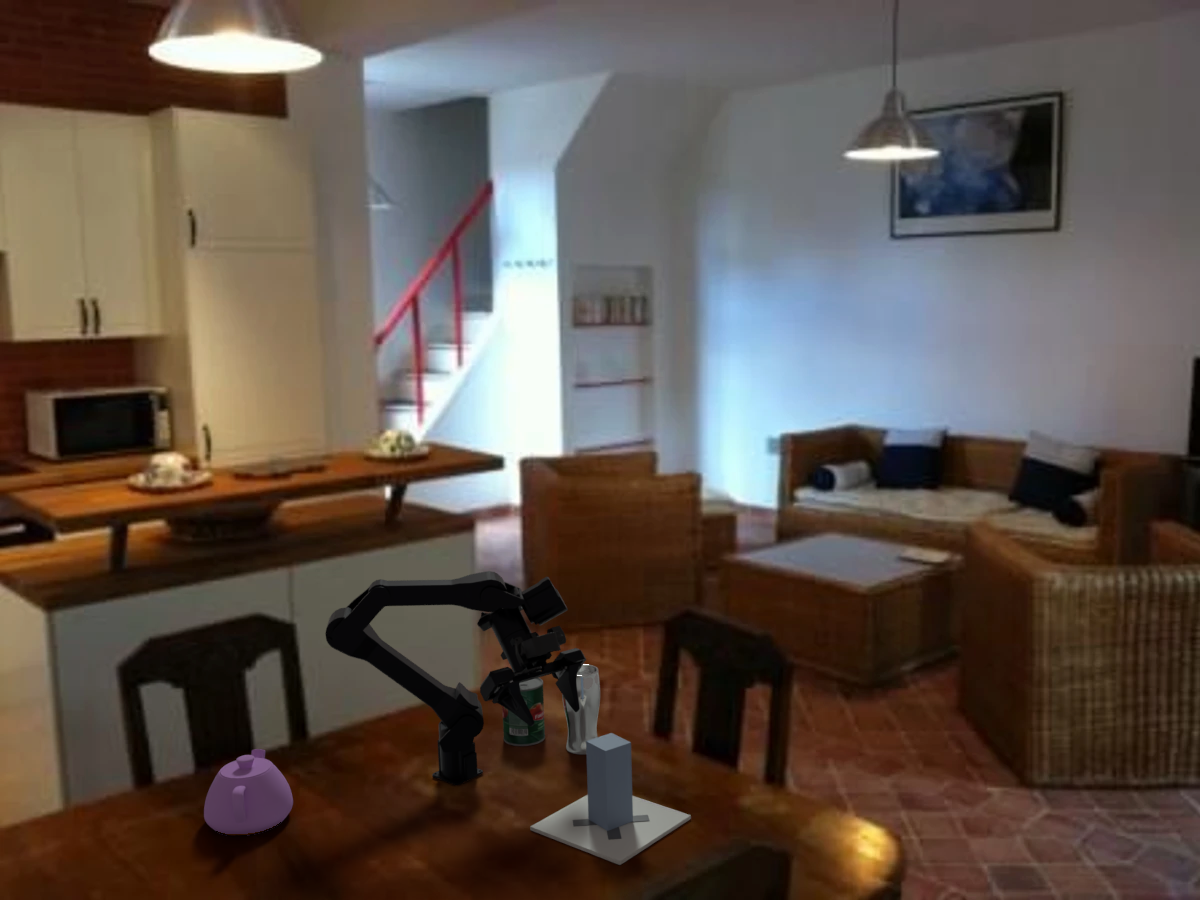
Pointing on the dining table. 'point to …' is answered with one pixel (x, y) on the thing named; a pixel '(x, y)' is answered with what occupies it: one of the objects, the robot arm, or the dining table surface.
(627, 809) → the blue block
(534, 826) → the pad
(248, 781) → the teapot
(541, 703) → the canned tomato
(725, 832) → the dining table surface
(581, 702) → the beer glass
